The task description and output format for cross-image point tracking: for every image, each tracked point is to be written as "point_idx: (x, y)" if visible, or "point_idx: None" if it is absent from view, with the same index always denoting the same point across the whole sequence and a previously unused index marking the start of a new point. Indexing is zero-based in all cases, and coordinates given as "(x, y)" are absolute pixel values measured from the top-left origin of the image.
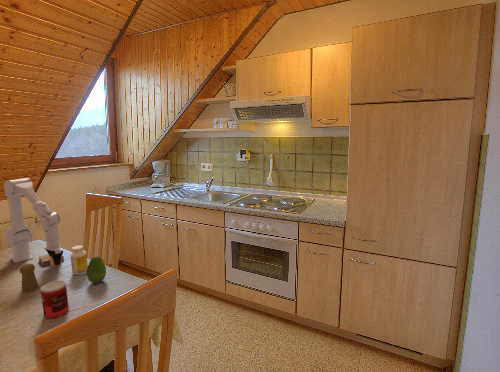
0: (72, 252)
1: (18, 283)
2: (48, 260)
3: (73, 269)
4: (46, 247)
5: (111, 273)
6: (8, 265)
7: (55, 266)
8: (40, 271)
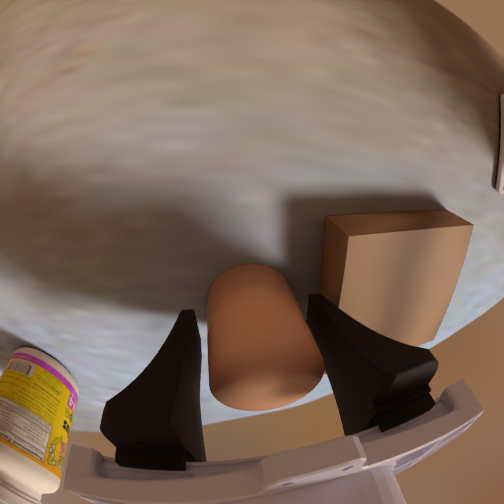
0: (8, 471)
1: (64, 15)
2: (341, 280)
3: (4, 371)
4: (319, 481)
5: None
6: (490, 59)
7: (207, 300)
8: (205, 172)
